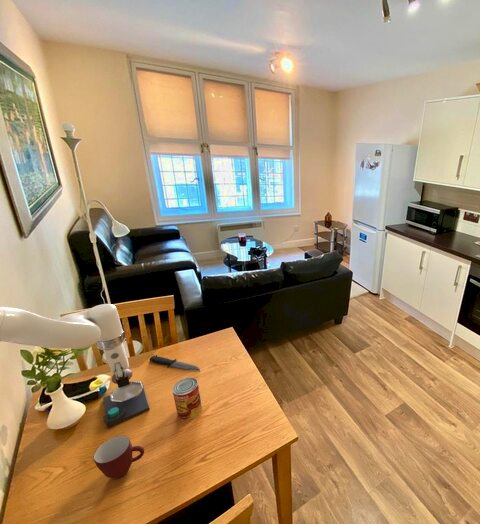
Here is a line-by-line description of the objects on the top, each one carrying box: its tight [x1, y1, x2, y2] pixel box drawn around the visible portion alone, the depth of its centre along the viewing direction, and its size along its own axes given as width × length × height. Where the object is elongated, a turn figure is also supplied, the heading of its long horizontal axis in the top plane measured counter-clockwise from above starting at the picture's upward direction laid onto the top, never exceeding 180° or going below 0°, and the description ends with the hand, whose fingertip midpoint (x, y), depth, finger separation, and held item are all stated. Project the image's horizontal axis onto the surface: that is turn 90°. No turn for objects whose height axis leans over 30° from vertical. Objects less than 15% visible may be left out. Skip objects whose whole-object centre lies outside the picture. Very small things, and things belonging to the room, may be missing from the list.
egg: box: [111, 368, 134, 385], centre depth 103 cm, size 6×6×4 cm
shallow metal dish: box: [109, 380, 144, 404], centre depth 106 cm, size 10×10×1 cm
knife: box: [149, 354, 201, 373], centre depth 124 cm, size 25×2×5 cm
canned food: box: [171, 376, 203, 421], centre depth 102 cm, size 8×8×12 cm
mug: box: [93, 435, 145, 480], centre depth 83 cm, size 10×8×10 cm
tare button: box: [108, 407, 119, 418], centre depth 98 cm, size 3×3×2 cm
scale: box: [103, 382, 151, 430], centre depth 104 cm, size 12×15×3 cm
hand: (123, 379), depth 104 cm, fingers closed on egg, 6 cm apart
